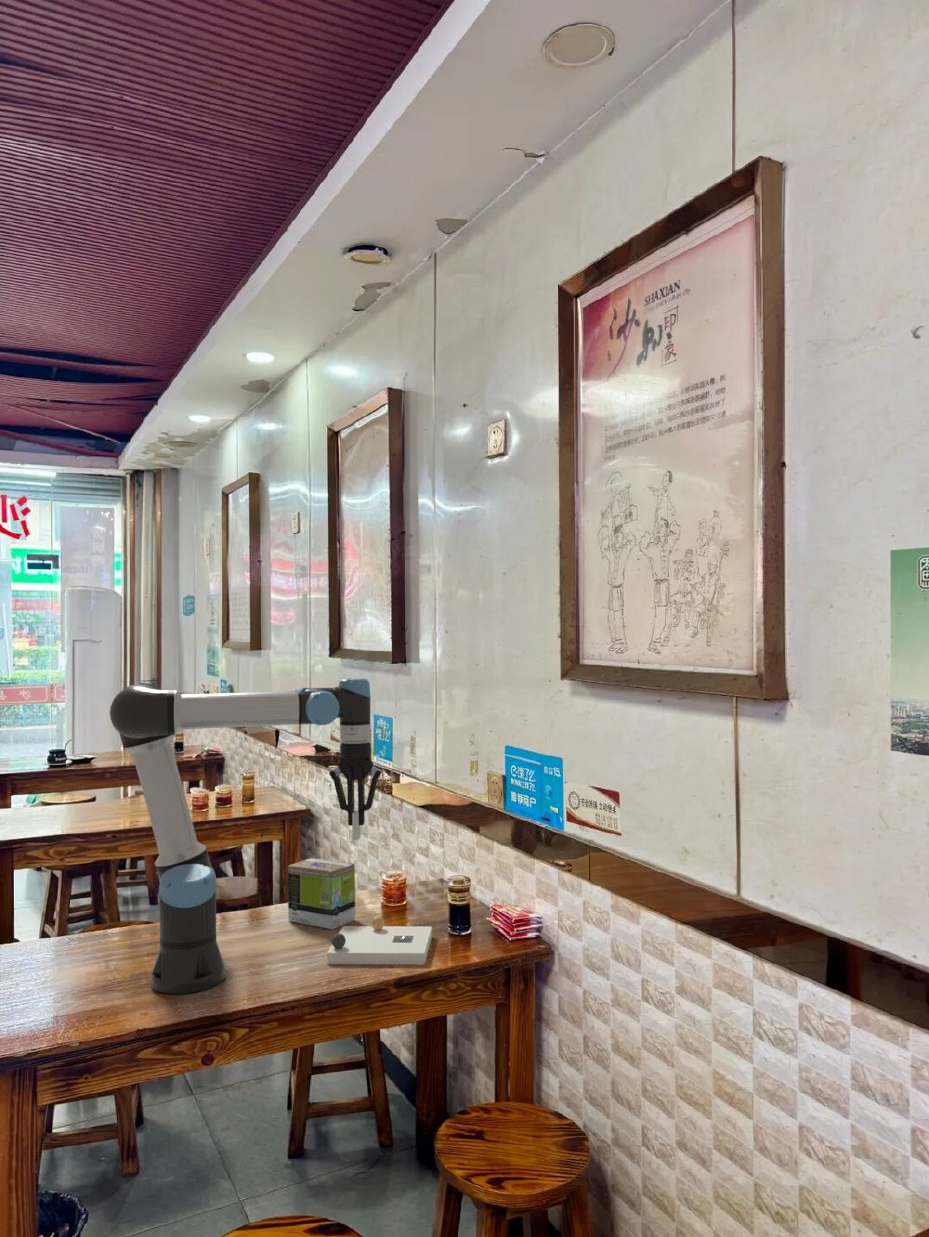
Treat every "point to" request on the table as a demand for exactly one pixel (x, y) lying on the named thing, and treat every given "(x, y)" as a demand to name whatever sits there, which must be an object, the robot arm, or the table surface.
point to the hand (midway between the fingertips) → (356, 838)
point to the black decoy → (338, 940)
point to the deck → (382, 945)
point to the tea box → (321, 893)
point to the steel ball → (405, 939)
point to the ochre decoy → (377, 923)
